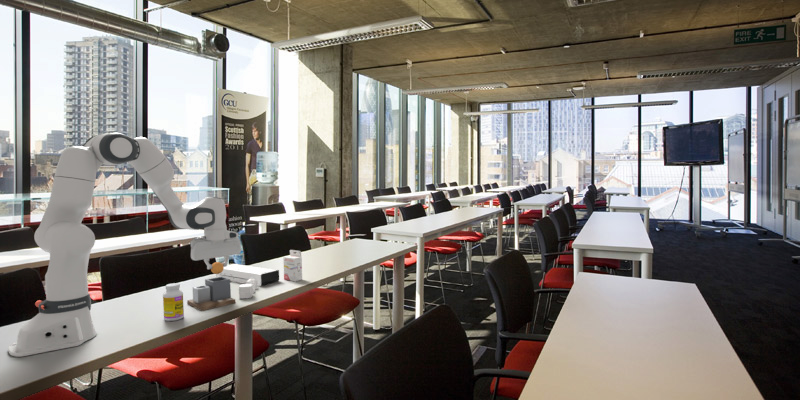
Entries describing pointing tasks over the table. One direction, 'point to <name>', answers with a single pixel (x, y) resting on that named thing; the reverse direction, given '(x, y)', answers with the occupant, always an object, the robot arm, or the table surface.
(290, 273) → the ink cartridge box
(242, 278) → the laminator
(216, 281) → the dark grey square container
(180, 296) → the supplement bottle
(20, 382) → the table surface
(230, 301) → the brown wooden tray
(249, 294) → the white dumbbell
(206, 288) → the light grey square container
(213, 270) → the ball
